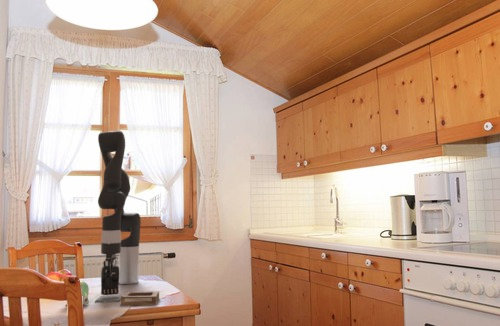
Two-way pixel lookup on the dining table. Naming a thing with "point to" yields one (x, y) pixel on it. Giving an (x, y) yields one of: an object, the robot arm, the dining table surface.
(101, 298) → the mat
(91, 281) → the dining table surface
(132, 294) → the frame
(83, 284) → the frog
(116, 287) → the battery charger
